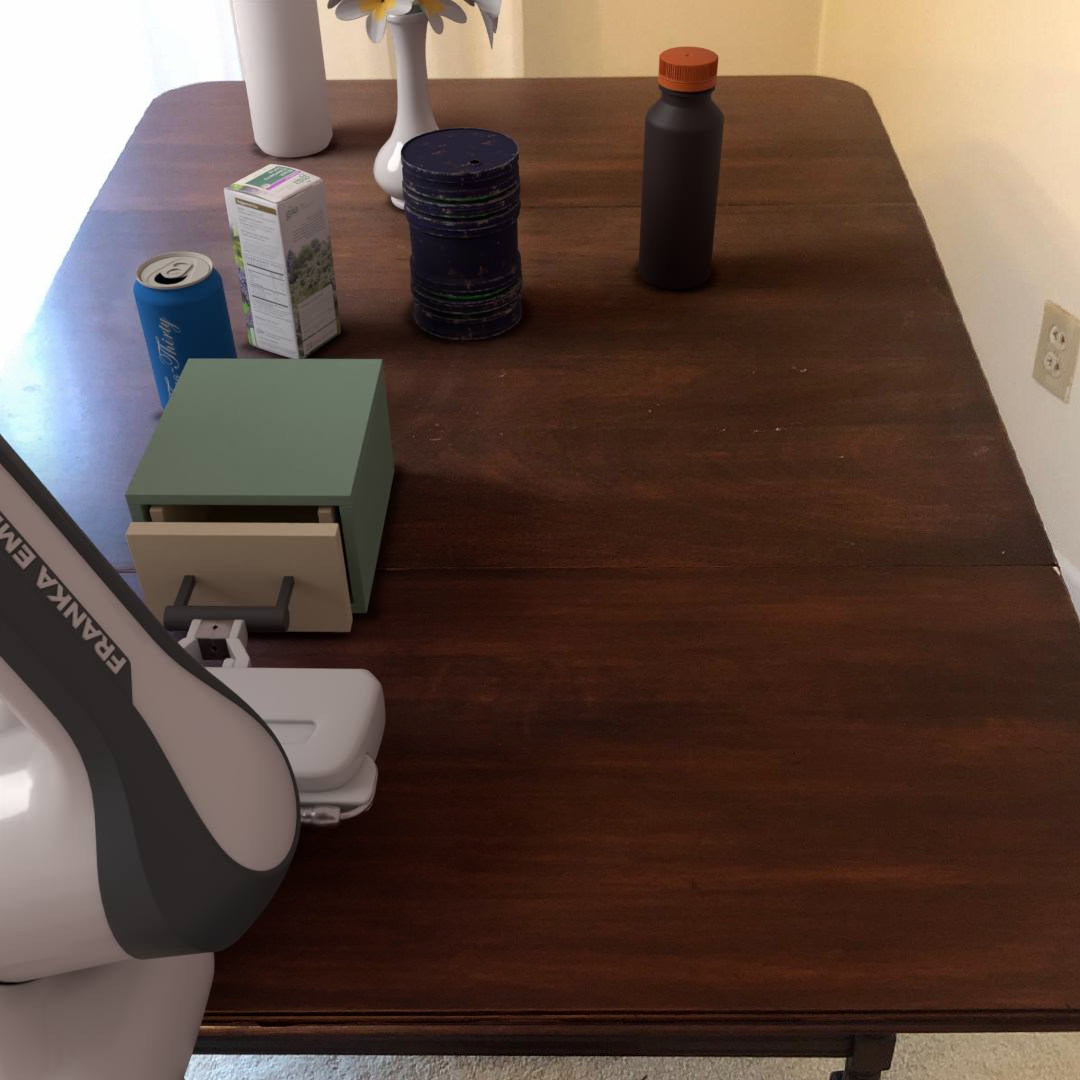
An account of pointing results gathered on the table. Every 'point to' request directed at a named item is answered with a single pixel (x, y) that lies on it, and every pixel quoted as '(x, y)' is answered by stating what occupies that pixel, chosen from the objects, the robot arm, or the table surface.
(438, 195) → the dark blue cylinder
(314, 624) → the drawer
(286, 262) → the syrup box
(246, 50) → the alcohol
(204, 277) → the beverage can
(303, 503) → the cabinet
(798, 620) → the table surface
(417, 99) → the flower vase
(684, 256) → the bottle
